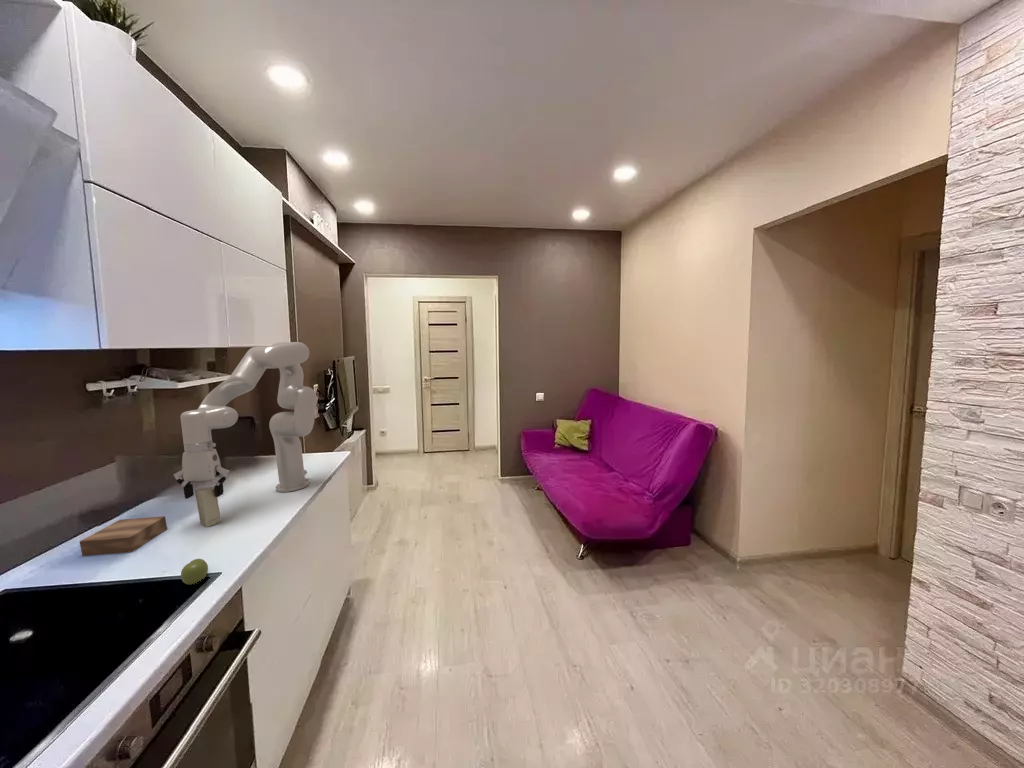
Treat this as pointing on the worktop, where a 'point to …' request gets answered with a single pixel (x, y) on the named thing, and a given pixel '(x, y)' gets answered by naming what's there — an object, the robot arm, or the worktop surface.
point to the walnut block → (123, 536)
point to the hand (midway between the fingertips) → (204, 496)
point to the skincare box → (207, 506)
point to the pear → (194, 571)
